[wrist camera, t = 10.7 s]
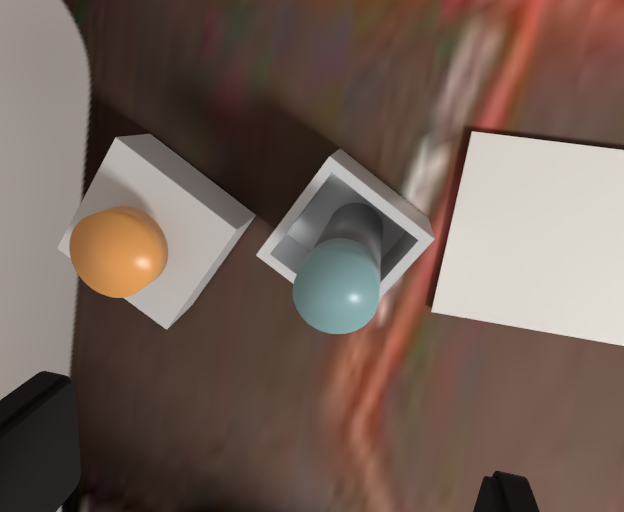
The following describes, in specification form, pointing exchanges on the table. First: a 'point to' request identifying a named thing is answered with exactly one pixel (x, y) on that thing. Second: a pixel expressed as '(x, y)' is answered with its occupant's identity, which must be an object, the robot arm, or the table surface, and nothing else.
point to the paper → (537, 238)
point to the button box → (167, 219)
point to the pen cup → (332, 195)
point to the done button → (118, 251)
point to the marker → (342, 272)
